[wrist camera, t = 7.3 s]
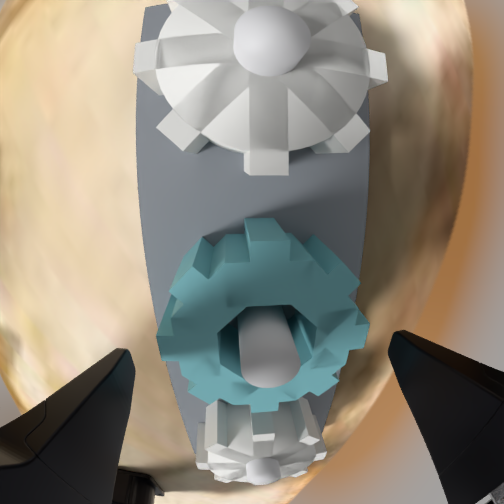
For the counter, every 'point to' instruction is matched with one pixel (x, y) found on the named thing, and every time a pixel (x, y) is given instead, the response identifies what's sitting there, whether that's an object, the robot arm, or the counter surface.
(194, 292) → the teal gear
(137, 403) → the counter surface
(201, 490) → the counter surface
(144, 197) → the gear board
